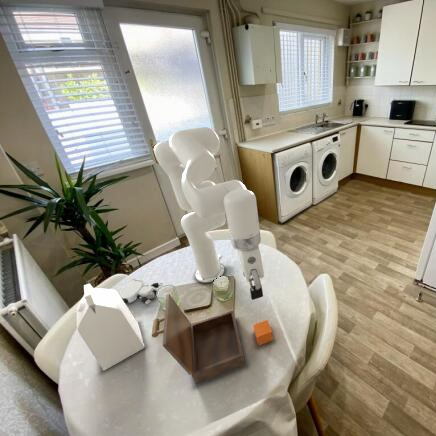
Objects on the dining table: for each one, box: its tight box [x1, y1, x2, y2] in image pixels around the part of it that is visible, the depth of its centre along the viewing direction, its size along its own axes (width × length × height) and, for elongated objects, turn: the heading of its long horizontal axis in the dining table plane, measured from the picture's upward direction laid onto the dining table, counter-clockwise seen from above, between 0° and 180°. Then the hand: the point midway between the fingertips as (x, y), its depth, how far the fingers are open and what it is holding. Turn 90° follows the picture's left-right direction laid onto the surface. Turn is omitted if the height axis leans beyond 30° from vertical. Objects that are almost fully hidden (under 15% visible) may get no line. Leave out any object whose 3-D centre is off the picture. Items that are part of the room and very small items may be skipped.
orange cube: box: [252, 319, 274, 346], centre depth 80 cm, size 5×5×5 cm
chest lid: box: [151, 293, 192, 376], centre depth 69 cm, size 15×18×5 cm
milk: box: [75, 283, 145, 371], centre depth 75 cm, size 12×12×26 cm
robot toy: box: [118, 278, 163, 305], centre depth 99 cm, size 12×4×15 cm
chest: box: [191, 310, 246, 385], centre depth 78 cm, size 15×18×5 cm
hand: (253, 285), depth 70 cm, fingers open, 9 cm apart
